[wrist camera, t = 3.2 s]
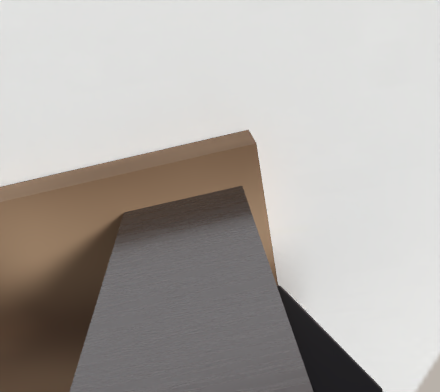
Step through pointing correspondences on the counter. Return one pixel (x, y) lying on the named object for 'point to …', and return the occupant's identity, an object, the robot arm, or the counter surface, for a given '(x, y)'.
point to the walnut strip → (83, 246)
